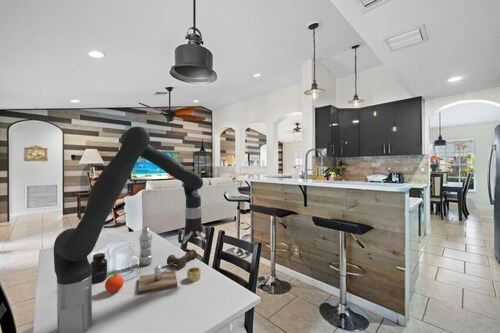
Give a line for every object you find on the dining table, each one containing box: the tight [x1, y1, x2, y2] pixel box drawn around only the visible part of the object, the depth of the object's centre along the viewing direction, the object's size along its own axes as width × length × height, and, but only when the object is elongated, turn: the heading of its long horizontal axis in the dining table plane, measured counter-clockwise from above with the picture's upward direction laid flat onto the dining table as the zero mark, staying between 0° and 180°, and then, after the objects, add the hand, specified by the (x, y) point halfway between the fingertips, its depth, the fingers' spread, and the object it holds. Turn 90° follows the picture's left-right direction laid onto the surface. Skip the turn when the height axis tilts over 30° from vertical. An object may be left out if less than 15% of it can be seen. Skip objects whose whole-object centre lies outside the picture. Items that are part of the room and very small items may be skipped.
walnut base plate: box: [137, 269, 178, 296], centre depth 107 cm, size 14×16×2 cm
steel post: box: [153, 265, 162, 281], centre depth 107 cm, size 3×3×6 cm
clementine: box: [104, 274, 124, 294], centre depth 100 cm, size 8×7×7 cm
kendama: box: [166, 249, 198, 270], centre depth 127 cm, size 6×10×20 cm
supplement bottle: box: [89, 252, 108, 284], centre depth 110 cm, size 7×7×12 cm
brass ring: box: [186, 266, 201, 283], centre depth 111 cm, size 6×6×4 cm
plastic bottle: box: [138, 226, 153, 266], centre depth 126 cm, size 6×7×20 cm
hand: (193, 249), depth 111 cm, fingers open, 8 cm apart
